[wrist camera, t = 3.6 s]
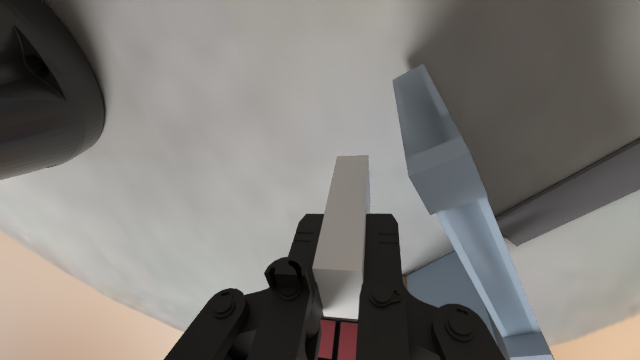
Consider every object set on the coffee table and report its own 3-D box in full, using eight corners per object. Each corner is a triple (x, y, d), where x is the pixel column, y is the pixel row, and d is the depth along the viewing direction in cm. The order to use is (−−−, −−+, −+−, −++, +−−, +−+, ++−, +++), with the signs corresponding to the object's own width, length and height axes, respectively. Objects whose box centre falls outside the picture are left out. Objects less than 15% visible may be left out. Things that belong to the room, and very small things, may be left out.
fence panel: (390, 280, 29) (397, 422, 20) (461, 243, 24) (514, 406, 15) (404, 289, 30) (417, 431, 20) (476, 254, 25) (535, 418, 16)
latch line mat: (488, 221, 22) (489, 223, 22) (762, 71, 14) (769, 73, 14) (515, 243, 23) (516, 246, 23) (787, 115, 15) (794, 117, 15)
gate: (494, 231, 22) (557, 370, 14) (469, 238, 22) (517, 372, 15) (423, 63, 15) (470, 152, 8) (392, 80, 16) (408, 176, 9)
